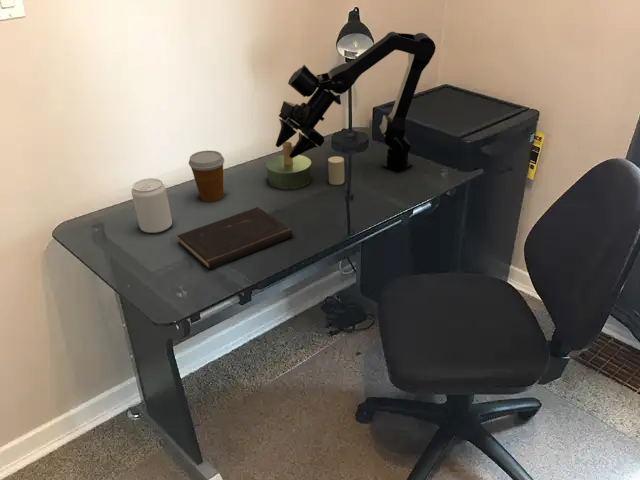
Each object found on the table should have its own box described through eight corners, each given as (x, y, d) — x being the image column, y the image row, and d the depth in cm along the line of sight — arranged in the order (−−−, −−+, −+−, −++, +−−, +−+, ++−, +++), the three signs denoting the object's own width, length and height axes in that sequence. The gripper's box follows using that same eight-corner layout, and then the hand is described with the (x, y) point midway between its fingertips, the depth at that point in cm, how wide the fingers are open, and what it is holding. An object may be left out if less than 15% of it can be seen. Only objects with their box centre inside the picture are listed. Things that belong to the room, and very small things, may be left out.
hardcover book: (178, 243, 150) (177, 235, 149) (258, 214, 163) (257, 206, 161) (210, 270, 140) (208, 262, 139) (292, 238, 152) (292, 230, 151)
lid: (289, 153, 185) (288, 131, 181) (320, 165, 178) (319, 142, 174) (256, 167, 177) (254, 144, 173) (287, 180, 170) (286, 156, 166)
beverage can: (178, 222, 159) (170, 180, 153) (160, 236, 153) (151, 193, 146) (152, 217, 161) (143, 175, 155) (133, 231, 155) (123, 189, 148)
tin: (290, 168, 187) (289, 153, 184) (319, 179, 180) (318, 163, 178) (260, 181, 179) (258, 165, 177) (288, 193, 173) (287, 177, 170)
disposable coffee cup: (187, 200, 169) (180, 160, 163) (207, 186, 177) (201, 147, 170) (216, 206, 166) (210, 166, 160) (235, 192, 174) (230, 152, 167)
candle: (336, 176, 182) (335, 154, 178) (347, 181, 179) (347, 159, 176) (325, 181, 179) (324, 159, 175) (337, 186, 177) (336, 164, 173)
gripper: (282, 81, 174) (250, 126, 175) (312, 100, 161) (277, 148, 162) (308, 104, 182) (277, 146, 183) (339, 123, 168) (305, 169, 170)
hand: (283, 151), depth 174 cm, fingers open, 9 cm apart
